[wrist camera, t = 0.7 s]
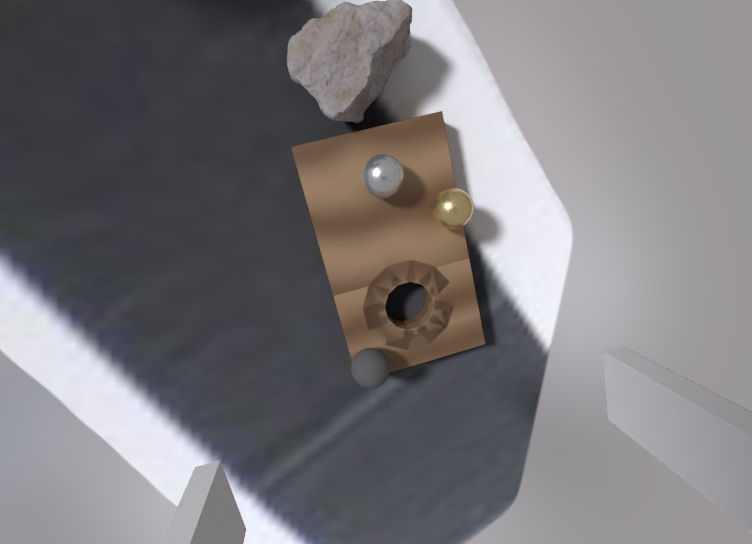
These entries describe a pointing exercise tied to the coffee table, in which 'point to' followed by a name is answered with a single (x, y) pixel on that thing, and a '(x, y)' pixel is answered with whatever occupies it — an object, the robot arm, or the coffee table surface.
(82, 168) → the coffee table surface
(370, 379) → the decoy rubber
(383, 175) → the ball
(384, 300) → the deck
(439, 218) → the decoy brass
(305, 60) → the stone
